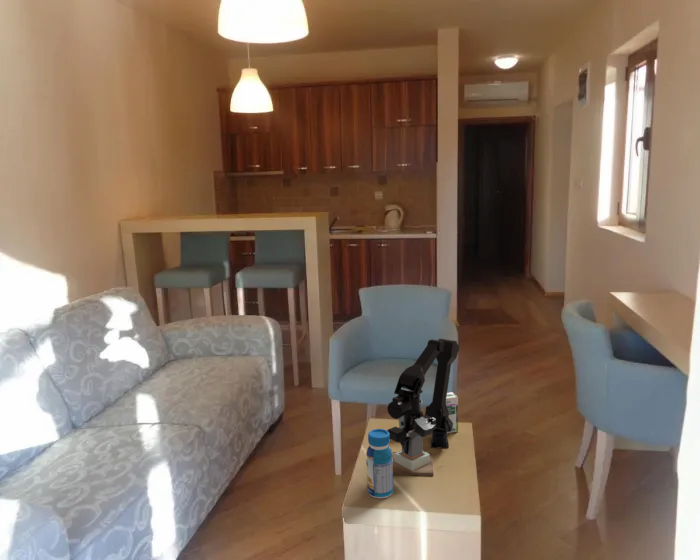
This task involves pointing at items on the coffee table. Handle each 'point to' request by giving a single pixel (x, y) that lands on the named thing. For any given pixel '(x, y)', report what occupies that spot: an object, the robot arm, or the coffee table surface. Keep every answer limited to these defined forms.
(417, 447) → the banded block
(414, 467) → the holder collar
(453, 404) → the syrup box
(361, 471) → the coffee table surface
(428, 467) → the walnut board
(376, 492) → the beverage bottle
